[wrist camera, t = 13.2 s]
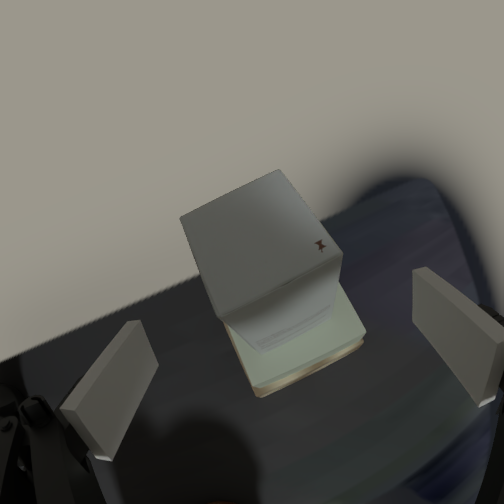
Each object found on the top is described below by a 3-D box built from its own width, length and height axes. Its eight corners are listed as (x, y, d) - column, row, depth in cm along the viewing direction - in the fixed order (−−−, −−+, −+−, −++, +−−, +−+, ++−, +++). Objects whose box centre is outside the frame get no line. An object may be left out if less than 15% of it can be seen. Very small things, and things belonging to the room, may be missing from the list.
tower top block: (260, 388, 28) (252, 386, 24) (222, 295, 33) (211, 282, 30) (359, 340, 28) (366, 331, 25) (312, 254, 34) (311, 236, 30)
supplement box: (295, 255, 30) (282, 164, 19) (333, 320, 26) (348, 254, 15) (226, 289, 29) (176, 214, 18) (258, 358, 26) (217, 320, 15)
